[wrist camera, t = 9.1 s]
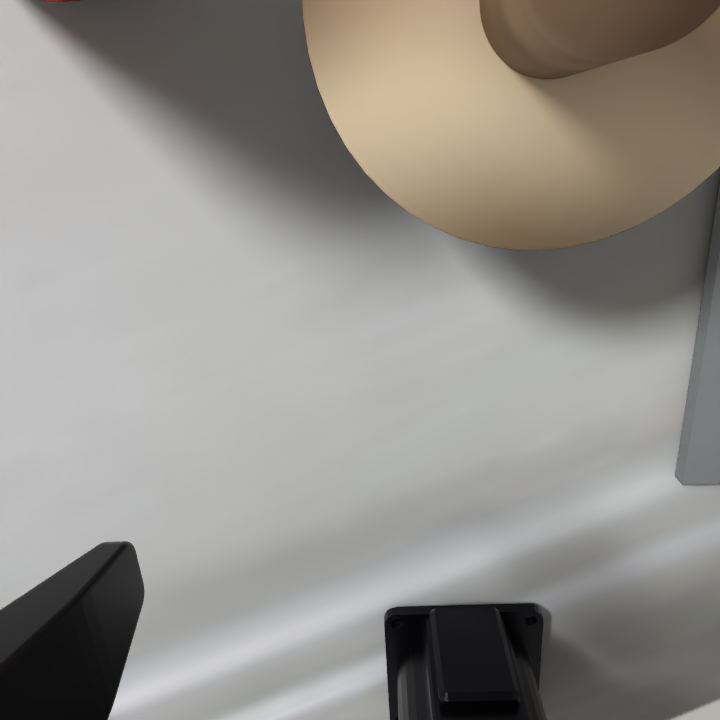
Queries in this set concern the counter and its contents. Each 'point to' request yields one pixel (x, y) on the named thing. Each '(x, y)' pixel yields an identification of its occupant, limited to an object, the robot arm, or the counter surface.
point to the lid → (524, 109)
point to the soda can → (61, 0)
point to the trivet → (704, 382)
